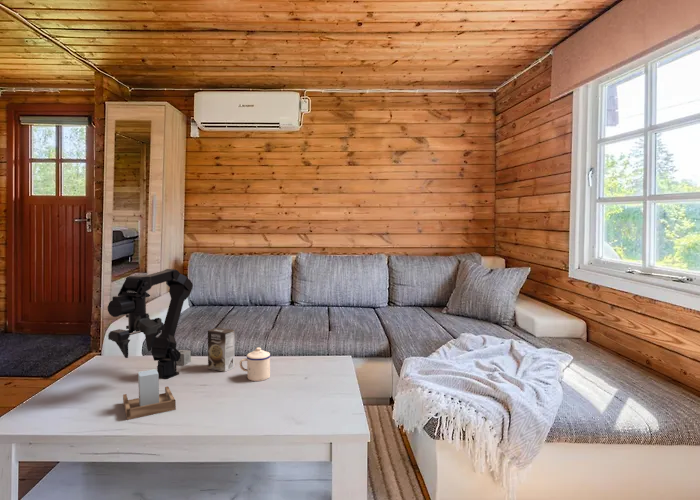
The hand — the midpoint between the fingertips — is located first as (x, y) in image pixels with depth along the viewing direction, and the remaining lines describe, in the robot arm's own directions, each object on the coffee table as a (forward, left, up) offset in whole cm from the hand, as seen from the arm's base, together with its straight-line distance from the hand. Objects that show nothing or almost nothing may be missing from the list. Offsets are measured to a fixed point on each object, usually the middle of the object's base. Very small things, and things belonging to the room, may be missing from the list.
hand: (138, 354), depth 154 cm
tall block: (+8, +15, -12) cm, 21 cm away
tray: (+8, +15, -13) cm, 21 cm away
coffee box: (-31, +10, -13) cm, 35 cm away
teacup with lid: (-29, +29, -13) cm, 43 cm away
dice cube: (-28, -9, -13) cm, 33 cm away
